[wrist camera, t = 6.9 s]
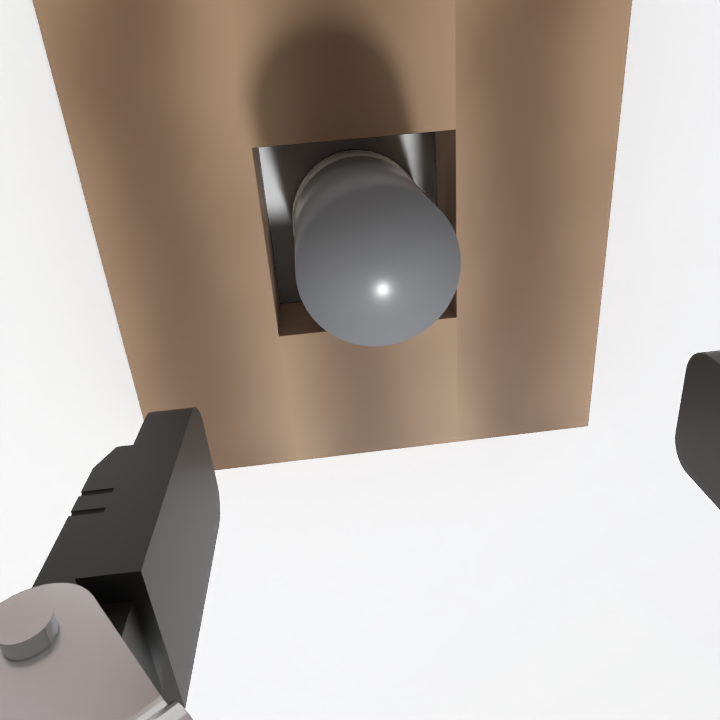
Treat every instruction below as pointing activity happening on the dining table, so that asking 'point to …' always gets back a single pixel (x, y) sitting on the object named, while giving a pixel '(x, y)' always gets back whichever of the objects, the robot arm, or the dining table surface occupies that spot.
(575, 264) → the end holder
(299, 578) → the dining table surface
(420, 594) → the dining table surface
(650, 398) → the dining table surface
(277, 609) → the dining table surface
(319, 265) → the connector plug
